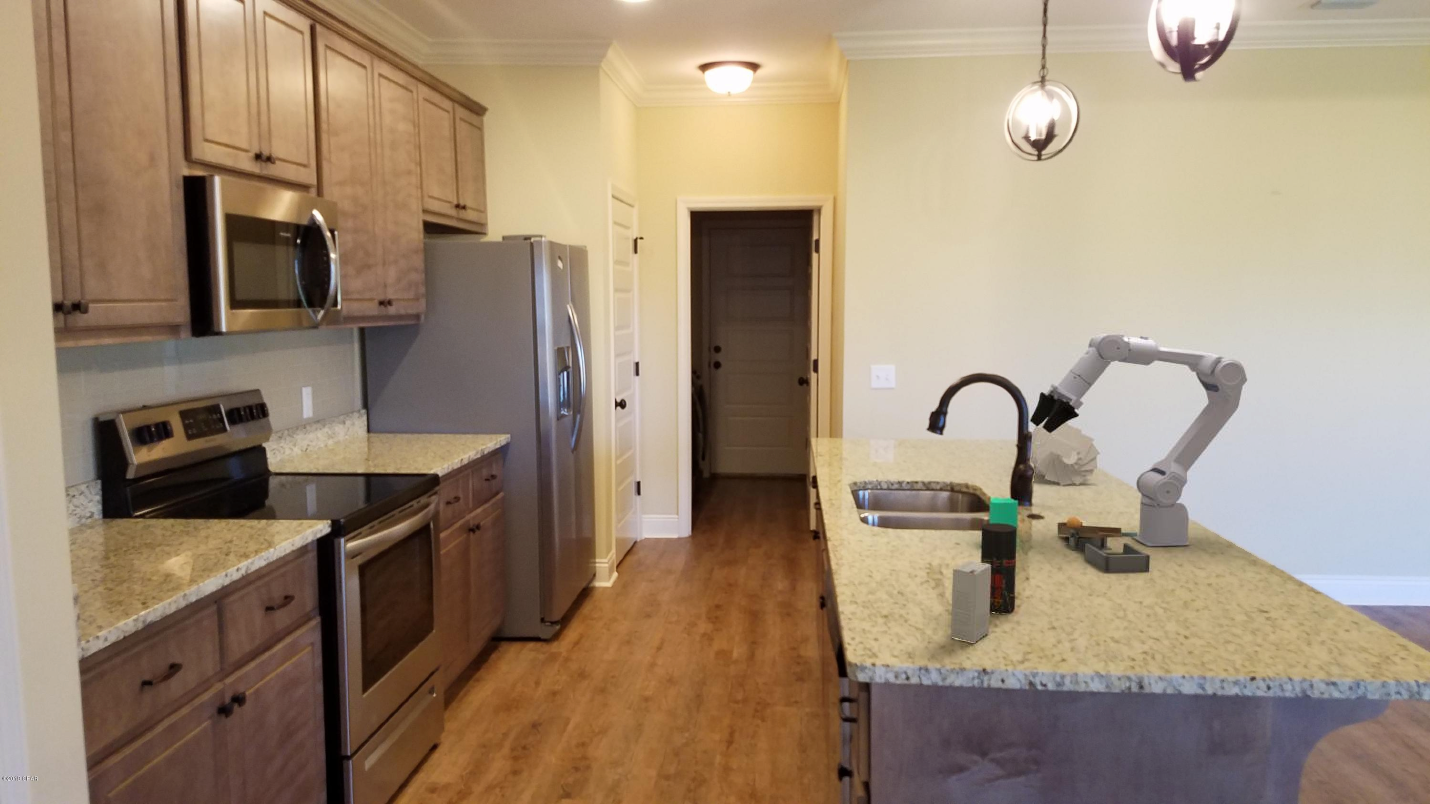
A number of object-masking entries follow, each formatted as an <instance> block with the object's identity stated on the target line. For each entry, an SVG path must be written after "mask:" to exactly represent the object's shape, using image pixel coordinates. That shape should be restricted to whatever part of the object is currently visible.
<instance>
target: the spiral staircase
mask: <svg viewBox="0 0 1430 804" xmlns="http://www.w3.org/2000/svg"><path fill="white" fill-rule="evenodd" d="M1043 425H1044V423H1042V424H1040V425H1039V426H1038V427H1037V426H1036V425H1035V426H1034V429H1033V431H1032V432H1031V435H1032V434H1033V442H1032V457H1031V462H1030V463H1031V464H1032V465H1033V466H1034V468H1033V469H1038V470H1039V471H1038V475H1042V476H1045V477H1044V480H1048V481H1051V482H1054V481H1055V482H1056V483H1059V486H1060V487H1062V486H1066V485H1070V484H1074V483H1075V484H1076V485H1077V486H1078V485H1079V484H1081V483H1082V481H1084V480H1085V479H1086V478H1087V477H1093V475H1094V471H1095V470H1098V462H1097V461H1098V459H1097V456H1099V455H1100V454H1101V453H1100V451H1099V450H1098V448H1097V447H1096V446H1095V444H1094V443H1093V442H1094V440H1095V439H1094V438H1092V437H1090V436H1087V434H1084V433H1082V429H1079V428H1078V427H1074V426H1071V425H1069V421H1067V422H1066V423H1064V424H1062V425H1061V426H1060V427H1058V428H1057V429H1056V430H1054V431H1053V432H1052V433H1049V432H1047V431H1046V430H1045V429H1044V428H1042V427H1043ZM1055 482H1054V483H1055Z"/></svg>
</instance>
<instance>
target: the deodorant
mask: <svg viewBox="0 0 1430 804" xmlns="http://www.w3.org/2000/svg"><path fill="white" fill-rule="evenodd" d="M1016 536H1017V537H1018V527H1017V528H1016V527H1015V526H1013V525H1009V524H1002V523H990V522H988V523H985V524H982V525H981V545H980V547H981V549H980V550H981V553H980V555H981V556H980V563H985V564H990V565H991V583H990V612H995V613H1010V614H1012V613H1011V612H1013V611H1014V610H1016V580H1017V579H1016V578H1017V577H1016V576H1017V574H1016V570H1017V547H1016ZM1014 612H1015V611H1014ZM1014 612H1013V613H1014Z"/></svg>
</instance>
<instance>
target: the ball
mask: <svg viewBox="0 0 1430 804" xmlns="http://www.w3.org/2000/svg"><path fill="white" fill-rule="evenodd" d="M1081 522H1082V521H1081V520H1080V519H1079V518H1077V517H1075V516H1073V517H1069V518H1068V519H1067V521H1066V526H1069V527H1081Z"/></svg>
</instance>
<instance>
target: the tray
mask: <svg viewBox="0 0 1430 804" xmlns="http://www.w3.org/2000/svg"><path fill="white" fill-rule="evenodd" d="M1122 550H1123V551H1122V554H1112V555H1108V554H1106V553H1105V552H1104V551H1103V550H1098V549H1097V548H1095V547H1093V546H1092V545H1090V544H1085V550H1084V559H1085V560H1086V561H1087V562H1089V563H1090V564H1092V565H1094V567H1096V568H1098V569H1099V570H1100V571H1102V572H1104V573H1137V572H1139V573H1140V572H1142V573H1143V572H1147V573H1148V572H1150V562H1151V561H1150V560H1151V555H1149V554H1147V553H1146V552H1144V551H1143V550H1141V549H1139V548H1137V547H1135V546H1134V545H1132V544H1130V543H1128V542H1123V543H1122Z"/></svg>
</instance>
